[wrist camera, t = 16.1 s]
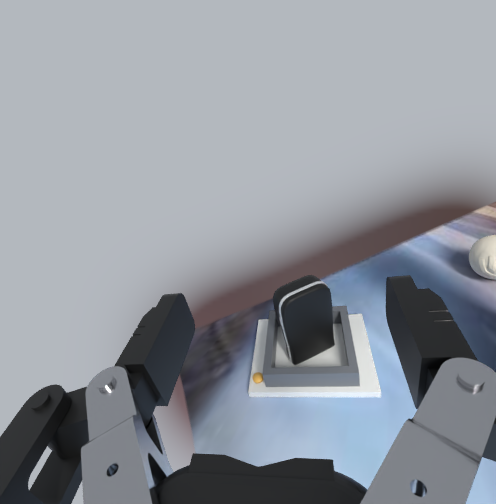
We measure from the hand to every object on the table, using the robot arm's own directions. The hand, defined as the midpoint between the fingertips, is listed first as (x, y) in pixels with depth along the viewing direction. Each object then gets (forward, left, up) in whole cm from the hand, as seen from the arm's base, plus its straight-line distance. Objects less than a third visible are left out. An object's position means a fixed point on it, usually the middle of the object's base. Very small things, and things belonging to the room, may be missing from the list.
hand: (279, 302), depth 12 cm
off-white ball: (-28, -35, -28) cm, 53 cm away
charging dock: (+1, -21, -28) cm, 35 cm away
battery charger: (+1, -21, -27) cm, 34 cm away
